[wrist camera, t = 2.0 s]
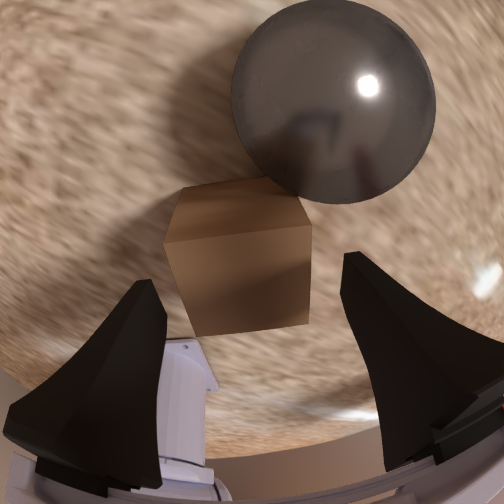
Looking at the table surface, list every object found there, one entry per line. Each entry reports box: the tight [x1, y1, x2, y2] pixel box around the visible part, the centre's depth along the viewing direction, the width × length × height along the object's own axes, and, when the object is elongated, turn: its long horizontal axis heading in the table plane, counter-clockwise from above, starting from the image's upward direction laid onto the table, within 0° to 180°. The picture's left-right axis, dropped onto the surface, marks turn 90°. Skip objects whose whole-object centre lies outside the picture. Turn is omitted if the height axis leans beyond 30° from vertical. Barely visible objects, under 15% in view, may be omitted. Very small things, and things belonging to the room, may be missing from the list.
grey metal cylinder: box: [231, 0, 436, 204], centre depth 10 cm, size 8×8×3 cm
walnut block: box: [163, 176, 312, 337], centre depth 13 cm, size 5×5×5 cm
